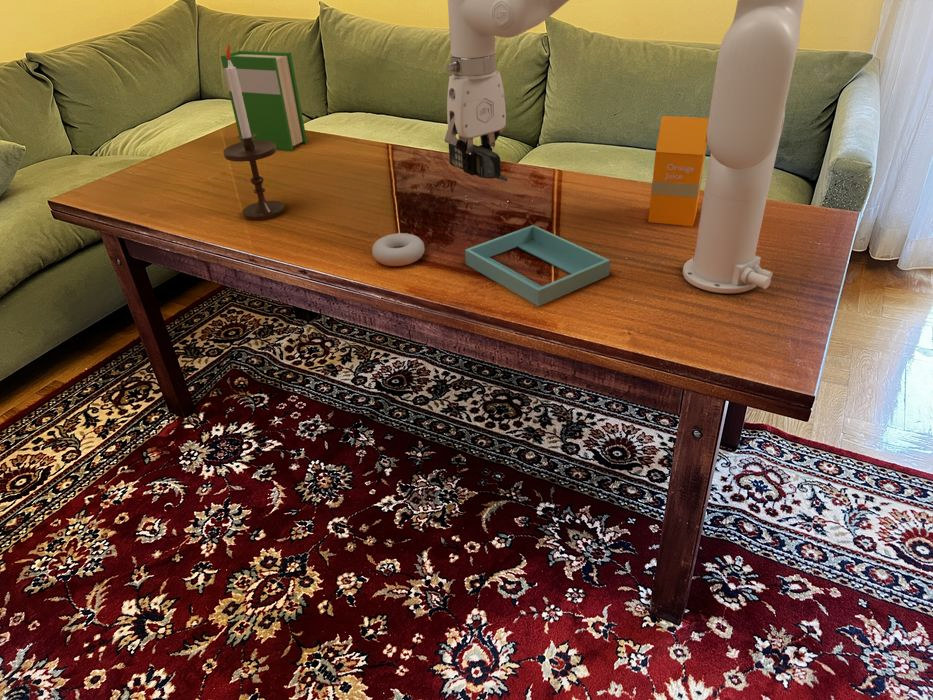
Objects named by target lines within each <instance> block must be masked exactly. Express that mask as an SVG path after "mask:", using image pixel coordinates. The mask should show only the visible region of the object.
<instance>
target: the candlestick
mask: <svg viewBox="0 0 933 700" xmlns="http://www.w3.org/2000/svg"><path fill="white" fill-rule="evenodd" d="M230 53H231V46H230V44H229V43H227V48H226V53H225V55H226V57H227V59H230ZM226 70H227V74H228V79H229V83H230V87H231V91H232V96H233V100H234V104H235V108H236V112H237V117H238V121H239V125H240V129H241V135H239V134H238V136H236V139H239V140H240V139H242V140H243V142H241V141H240V142H237V143H234V144H231V145H229V146H227V147H225V148H224V149H223V151H222V153H223V157H224V159H226V160H227V161H230V162H237V163H239V162H249V166H250V171H251V174H252V177H251V178H250V183H251V184H252V185H253V186H254V190H253V193H254V194H256V195H257V202H254V203H251V204H249V205H247V206H246V207H244V209H243V210H242V214H243V217H244V219H246V220H248V221H266V220H267V221H268V220H271V219H275V218H277V217H279V216H281V215H283V214H284V213H285V211H286V207H285V204H284V203H283V202H281V201H279V200H266V199H265V192H266V189H265V188H264V187H263V183H264V177H263V176H261V175H260V173H259V168H258V164H257V161H258V160H262V159H265V158H268V157H270V156H273V155H275V153H277V150H278V149H276V144H275V143H273V142H271V141H265V140H255V141H253V138H252V137H255V136H256V134H255V133H251V132H250V127H249V123H248V119H247V114H246V110H245V106H244V101H243V97H242V92H241V88H240V84H239V79H238V75H237V71H236V67H233V65H232V63H231V60H228V68H226Z"/></svg>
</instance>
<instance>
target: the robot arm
mask: <svg viewBox="0 0 933 700" xmlns="http://www.w3.org/2000/svg"><path fill="white" fill-rule="evenodd" d="M568 2H570V0H447V11H448V12H447V13H448V30H449V46H450V62H449V63H448V62H447V63H446V66H445V67H446V71H447V72H448V73H451V75H450V76H449V78H448V79H449V80H448V86H447V98H446V114H447V115H446V118H447V130H446V134H445V137H444V142H445V143H447V144H448V145H449V144H452V145H454V146H456V147H457V148H458V149H459V151H461V152H462V167H463V172H464V173H465V174H467V175H470V176H471V177H473V176H476V155H475V154H474V153H472V152H473V144H474V139H475V138H478V137H479V138H480V145H478V146H480V147H483V148H486V149H488V150H491V151H492V152H493V149H494V148H495V146H496V142H497V140H498V139H499V137H500V135H501V134H502V133H503V132H504V131H505V130H506V129H507V127H508V124H507V114H506V112H507V111H506V99H505V98H506V97H505V90H504V85H503V79H502V76H501V73H500V72H501V71H500V70H497V66H496V65H497V64H496V37H500V38H505V39H506V38H515V37H517V36H521V35H522V34H524V33H525V32H528V31H529V30H532V29H533V28H535V27H537V26H539V25H541V24H542V23H543V22H545V21H546V20H547V19H549V17H551V16H552V15H553V14H554V13H556V12H557V11H558V10H560V9H561V7H563V6H564V5H565V4H567V3H568ZM804 5H805V0H737V2H736V7H735V11H734V17H733V20H732V22H731V24H730V27H729V28H728V30H727V31H726V33H725V34H724V36H723V39H722V41H721V43H720V46H719V51H718V56H717V61H716V67H715V73H714V80H713V88H712V93H711V102H710V107H709V115H708V118H709V120H708V128H707V147H708V149H709V152H710V156H709V161H708V167H707V173H706V179H705V185H704V191H703V197H702V203H701V210H700V211H701V212H700V217H699V224H698V231H697V235H696V237H697V238H696V243H695V250H694V255H693V257H692V258H690V259H688V260H687V261H686V262H685V263H684V264H683V267H682V276H683V278H684V279H685V280H686V281H687V282H688V283H689V284H691V286H694V287H696V288H698V289H701V290H703V291H707V292H712V293H717V294H740V293H746V292H748V291H751V290H753V289H754V288H756V287H758V288H762V289H764V290H766V289H768V288H769V286H770V285H771V283H772V277H773V274H774V273H773V271H770V270H768V269H764V268H762V267H761V266H760V263H761V260H762V257H761V256H758V255H756V253H757V249H758V248H757V247H758V243H759V239H760V234H761V230H762V224H763V219H764V215H765V211H766V204H767V199H768V195H769V192H770V187H771V182H772V178H773V173H774V168H775V164H776V159H777V153H778V150H779V145H780V140H781V136H782V132H783V128H784V123H785V118H786V117H785V116H786V106H787V100H788V96H789V91H790V86H791V81H792V77H793V71H794V68H795V67H794V66H795V61H796V58H797V52H798V51H799V50H798V49H799V46H800V40H801V39H800V38H801V21H802V16H803V15H802V14H803V10H804ZM457 135H458V138H457Z"/></svg>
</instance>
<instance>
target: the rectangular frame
mask: <svg viewBox="0 0 933 700" xmlns="http://www.w3.org/2000/svg"><path fill="white" fill-rule="evenodd" d="M515 248H518V249H520V250H522V251H524V252H526V253H528V254H530V255H532V256H534V257H535V258H538V259H540V260H542V261H544V262H545V263H548V264H550V265H552V266H554V267H555V268H558V269H560V270H562V271H563V272H566V273H567V274H568V275H566V276H563V277H561V278H559V279H556V280H554V281H552V282H549V283H547V284H545V285H541V284H539V283H537V282H535V281H533V280H531V279H529V278H528V277H526V276H524V275H522V274H521V273H519V272H517V271H516V270H513V269H512V268H509V267H508V266H506V265H504V264H502V263H500V262H499V261H497V260H495V259H493V258H491V257H494V256H496V255H500V254H502V253H504V252H507V251H509V250H513V249H515ZM464 256H465V265H466V266H468V267H470V268H472V269H473V270H475V271H476V272H478V273H480V274H482V275H484V276H485V277H487V278H488V279H490V280H492V281H494V282H495V283H497V284H499V285H500V286H502V287H504V288H505V289H507V290H509V291H511V292H513V293H514V294H515V295H518V296H519V297H521V298H523V299H524V300H527V302H530V303H532V304H533V305H535V306H537V307H540V306H543V305H545V304H548V303H550V302H552V301H555V300H557V299H559V298H561V297H563V296H565V295H568V294H570V293H572V292H574V291H576V290H579V289H581V288H584V287H587V286H588V285H590V284H592V283H595V282H598V281H600V280H602V279H604V278H606V277H609V276H610V267H611V259H608V258H607V257H604V256H602V255H600V254H598V253H595V252H593V251H590V250H589V249H587V248H585V247H582V246H580V245H578V244H575V243H574V242H572V241H569V240H567V239H565V238H563V237H560V236H559V235H556V234H555V233H552V232H550V231H548V230H545V229H543V228H541V227H539V226H537V225H535V224H532V225H529V226H526V227H523V228H521V229H518V230H515V231H512V232H510V233H507V234H504V235H502V236H498V237H496V238H493V239H490V240H487V241H485V242H482V243H480V244H476V245H474V246H471V247H469V248H466V249H465V250H464Z"/></svg>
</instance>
